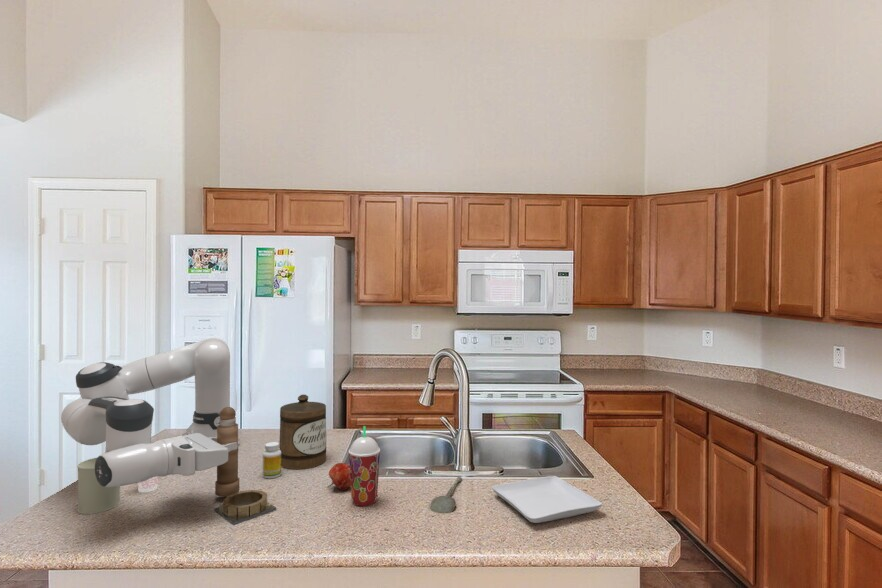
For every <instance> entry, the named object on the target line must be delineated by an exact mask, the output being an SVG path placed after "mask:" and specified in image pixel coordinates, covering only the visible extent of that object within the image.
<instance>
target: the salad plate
mask: <svg viewBox="0 0 882 588" xmlns="http://www.w3.org/2000/svg"><path fill="white" fill-rule="evenodd" d="M491 489H492V490H493V492H494V493H495V494H496V495H498V496H499V497H500V498H501V499H502V500H503V501H505V502H506V503H507V504H508V505H510V506H511V507H512V508H514V509H515V510H516V511H517V512H519V513H520V514H521V516H523V517H524V518H525V519H527V521H529V522H530V523H534V524H539V523H547V522H552V521H556V520H561V519H562V520H563V519H565V518H570V517H571V518H572V517H576V516H580V515H582V514H589V513H591V512H594V511H596V510H598V509H600V508H601V507H602V506H603V503H602V502H601V501H599V500H598V499H596V498H595V497H593V496H591V495H589V494H588V493H586V492H584V491H583V490H580V489H579V488H577V487H575V486H574V485H573V484H570V483H569V482H567V481H566V480H564V479H563V478H560V477H559V476H556V475H548V476H541V477H534V478H529V479H523V480H517V481H512V482H511V481H510V482H506V483H499V484H496V485H495V484H494V485H491Z"/></svg>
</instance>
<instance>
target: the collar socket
mask: <svg viewBox="0 0 882 588" xmlns="http://www.w3.org/2000/svg"><path fill="white" fill-rule="evenodd" d="M273 511H277V507H276V506H275V505H273V504H272V503H271V502H269V501H268V493H267V492H265V491H263V490H258V489H249V490H248V489H247V490H242V491H241V490H240V491H239V492H237V493H234V494H232V495H229V496H225V498H223V501H222V503H221V504H220V505H219V506H218V507H214V512H216V513H217V514H218V513H219V514H218V515H220V516H221V517H222V518H224V519H225V520H226V521H227V522H228V523H230V524H231V525H233V526H234V525H238V524H241V523H243V522H246V521H249V520H251V519H254V518H257V517H260V516H263V515H265V514H268V513H271V512H273Z"/></svg>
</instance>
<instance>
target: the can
mask: <svg viewBox="0 0 882 588" xmlns="http://www.w3.org/2000/svg"><path fill="white" fill-rule="evenodd" d="M97 458H98V457H94V458H89V459H86V460H84V461H82V462H79V463H78V464H77V466H76V467H77V490H78V491H77V513H79V514H82V515H92V514H93V515H94V514H99V513H103V512H107V511H109V510H112V509H114V508H117V507H118V506H119V505H120V504H121V502H122V500H121V486H117V487H103V486H101V485H100V484H99V483H98V481H97V478H96V475H95V462H96V459H97Z"/></svg>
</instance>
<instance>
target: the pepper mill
mask: <svg viewBox="0 0 882 588" xmlns="http://www.w3.org/2000/svg"><path fill="white" fill-rule="evenodd" d="M236 416H237V413H236V410H235V408H233V407H231V406H230V407H225V408H223V409H222V410H221V412H220V425H218V426H217V443H219V444H221V445H226V444H228V443H229V442H236V443H237V449H235V450H231V451H230V452H228V461H227V462H226V463H224V464H222V465H219V466H216V480H215V483H214V484H215V486H214V495H215V496H216V497H221V498H222V497H223V498H224V497H225V498H226V497H228V496H229V495H232V494H234V493H237V492H240V478H239V445H238V441H239V424H238V423H237V417H236Z"/></svg>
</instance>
